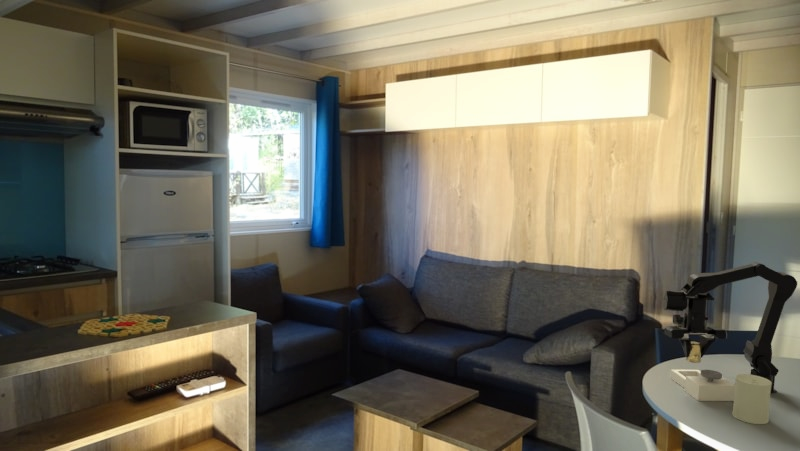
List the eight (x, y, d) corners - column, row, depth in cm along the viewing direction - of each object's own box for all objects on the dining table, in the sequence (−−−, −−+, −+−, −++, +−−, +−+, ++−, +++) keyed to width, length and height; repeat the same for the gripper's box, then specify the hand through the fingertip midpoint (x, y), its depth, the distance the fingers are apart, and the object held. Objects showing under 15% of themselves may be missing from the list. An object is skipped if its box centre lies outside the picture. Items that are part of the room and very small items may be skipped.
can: (734, 420, 169) (737, 380, 168) (730, 408, 178) (733, 370, 176) (771, 426, 166) (775, 385, 165) (765, 414, 174) (768, 375, 173)
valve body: (700, 378, 204) (702, 356, 203) (735, 401, 184) (737, 377, 183) (666, 377, 203) (668, 356, 202) (697, 400, 183) (699, 377, 183)
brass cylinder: (703, 362, 196) (704, 345, 195) (690, 362, 195) (691, 345, 195) (696, 358, 200) (697, 341, 199) (683, 358, 200) (684, 341, 199)
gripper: (710, 306, 204) (707, 349, 206) (657, 305, 204) (655, 349, 205) (729, 314, 193) (726, 360, 195) (673, 314, 193) (670, 360, 194)
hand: (693, 357), depth 198 cm, fingers closed on brass cylinder, 4 cm apart
